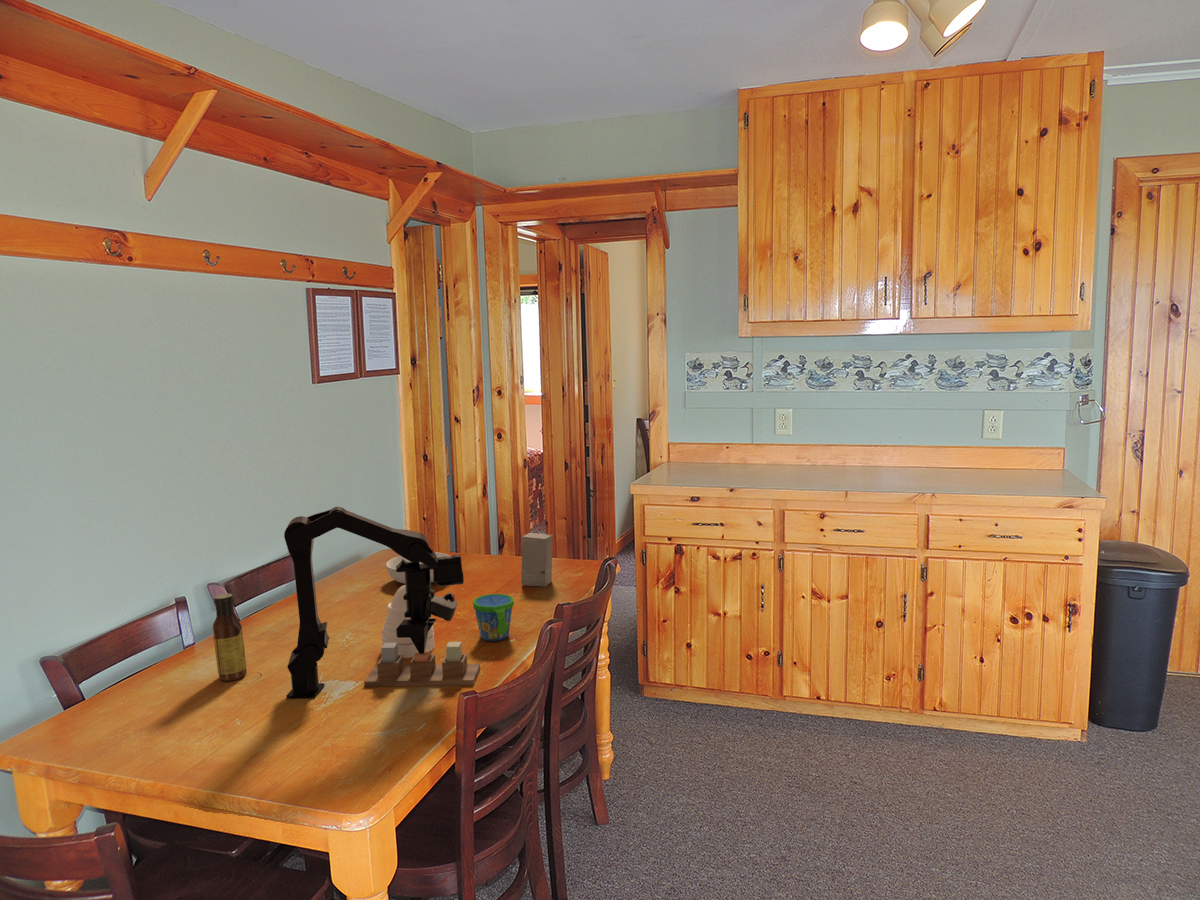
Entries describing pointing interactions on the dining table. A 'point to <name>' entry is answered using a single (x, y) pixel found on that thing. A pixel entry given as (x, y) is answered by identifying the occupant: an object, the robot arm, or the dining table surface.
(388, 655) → the grey chamfered block
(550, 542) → the skincare box
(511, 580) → the dining table surface
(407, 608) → the robot arm
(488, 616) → the snack cup
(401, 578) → the serving bowl
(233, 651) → the sauce bottle
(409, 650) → the honey pot
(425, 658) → the orange rectangular block
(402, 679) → the brown block rack
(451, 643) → the beige rectangular block
